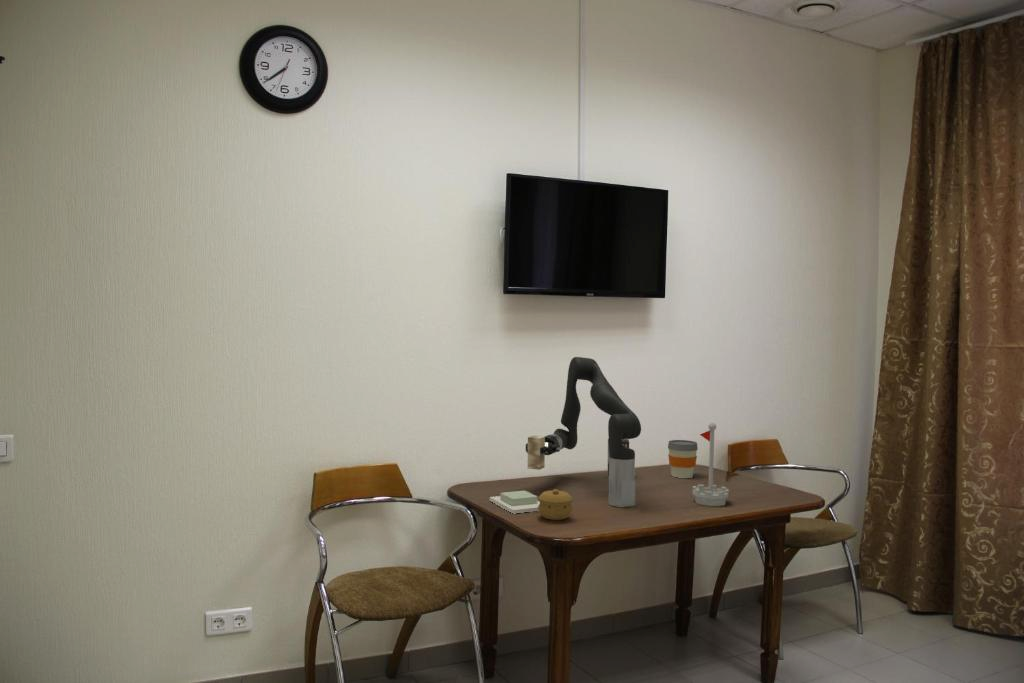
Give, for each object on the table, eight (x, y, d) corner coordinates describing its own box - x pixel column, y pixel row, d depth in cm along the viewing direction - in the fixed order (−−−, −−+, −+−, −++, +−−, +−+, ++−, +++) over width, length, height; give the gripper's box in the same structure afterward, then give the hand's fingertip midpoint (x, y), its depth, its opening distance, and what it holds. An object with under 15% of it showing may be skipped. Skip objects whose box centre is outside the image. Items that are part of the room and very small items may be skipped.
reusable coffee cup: (663, 473, 338) (664, 439, 337) (691, 473, 339) (691, 439, 339) (672, 479, 325) (673, 444, 325) (701, 479, 327) (702, 444, 326)
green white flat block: (548, 510, 271) (549, 499, 271) (513, 514, 265) (513, 502, 265) (523, 497, 289) (523, 487, 289) (489, 501, 283) (489, 490, 283)
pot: (574, 523, 256) (575, 493, 255) (539, 523, 255) (540, 493, 254) (569, 513, 267) (570, 485, 267) (535, 514, 266) (536, 485, 266)
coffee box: (628, 476, 332) (629, 439, 331) (629, 479, 325) (629, 441, 325) (606, 475, 332) (607, 438, 332) (607, 478, 326) (608, 440, 325)
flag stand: (734, 502, 287) (737, 423, 286) (716, 508, 278) (719, 426, 277) (703, 496, 296) (706, 419, 295) (685, 502, 287) (687, 422, 286)
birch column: (544, 467, 296) (544, 436, 296) (539, 469, 292) (539, 438, 292) (532, 466, 298) (532, 435, 298) (527, 468, 294) (527, 437, 294)
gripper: (534, 433, 311) (517, 439, 296) (567, 436, 305) (551, 442, 290) (533, 452, 312) (516, 458, 296) (567, 455, 306) (551, 462, 290)
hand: (534, 450), depth 293 cm, fingers closed on birch column, 5 cm apart
